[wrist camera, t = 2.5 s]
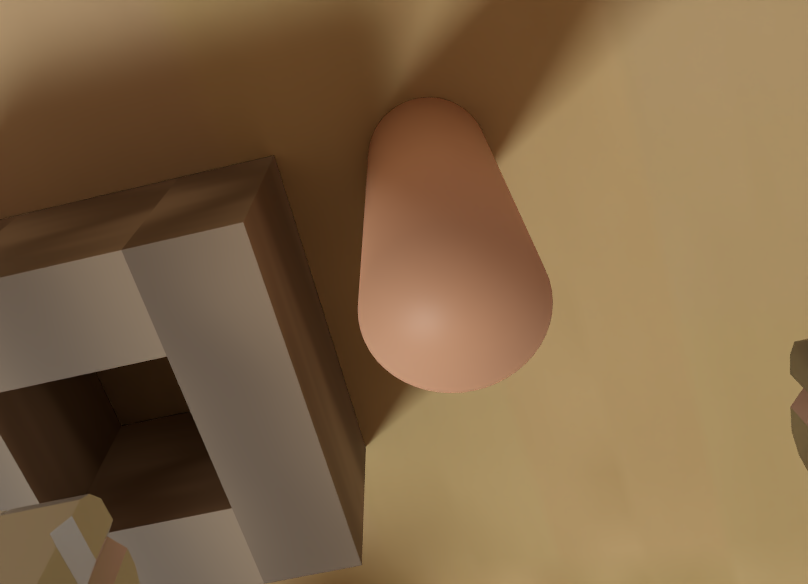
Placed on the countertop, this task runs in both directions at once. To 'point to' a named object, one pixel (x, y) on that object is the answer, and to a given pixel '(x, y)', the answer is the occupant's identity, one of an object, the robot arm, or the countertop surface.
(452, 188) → the dowel
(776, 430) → the countertop surface
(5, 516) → the robot arm
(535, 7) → the countertop surface
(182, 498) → the socket block
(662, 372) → the countertop surface
